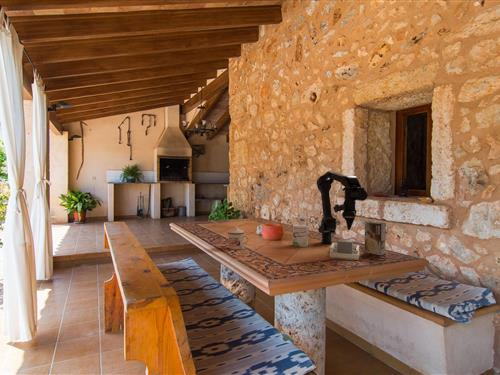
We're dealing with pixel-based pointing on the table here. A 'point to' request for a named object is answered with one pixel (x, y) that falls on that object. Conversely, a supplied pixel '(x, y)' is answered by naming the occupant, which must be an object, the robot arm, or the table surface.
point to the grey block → (345, 246)
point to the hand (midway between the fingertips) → (349, 228)
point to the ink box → (300, 235)
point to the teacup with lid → (236, 239)
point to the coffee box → (375, 237)
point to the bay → (336, 246)
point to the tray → (345, 256)
